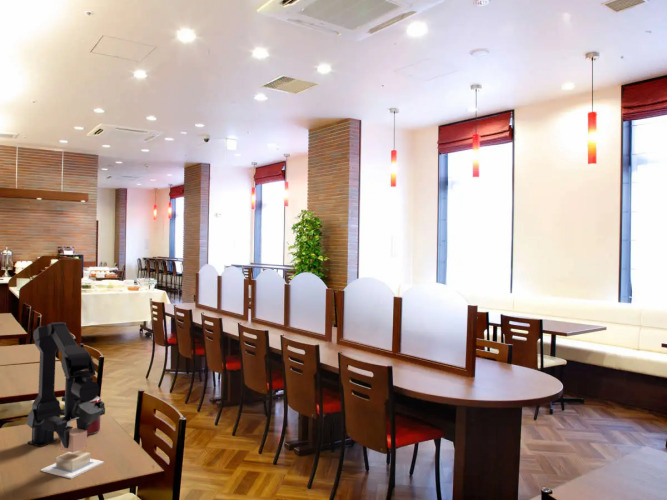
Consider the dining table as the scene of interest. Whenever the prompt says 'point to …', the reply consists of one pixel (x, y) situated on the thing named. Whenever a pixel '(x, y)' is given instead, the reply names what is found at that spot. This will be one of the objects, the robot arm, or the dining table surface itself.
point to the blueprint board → (72, 474)
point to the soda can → (95, 425)
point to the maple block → (72, 460)
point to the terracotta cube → (76, 440)
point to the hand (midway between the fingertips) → (73, 444)
